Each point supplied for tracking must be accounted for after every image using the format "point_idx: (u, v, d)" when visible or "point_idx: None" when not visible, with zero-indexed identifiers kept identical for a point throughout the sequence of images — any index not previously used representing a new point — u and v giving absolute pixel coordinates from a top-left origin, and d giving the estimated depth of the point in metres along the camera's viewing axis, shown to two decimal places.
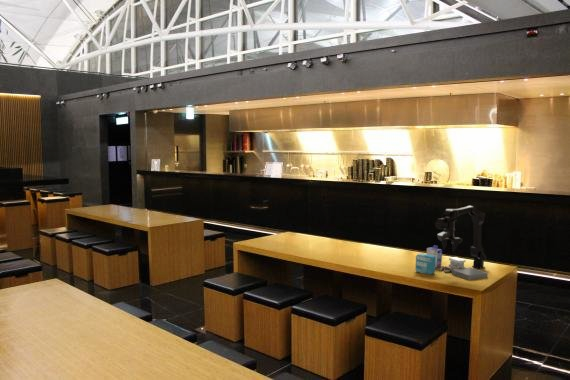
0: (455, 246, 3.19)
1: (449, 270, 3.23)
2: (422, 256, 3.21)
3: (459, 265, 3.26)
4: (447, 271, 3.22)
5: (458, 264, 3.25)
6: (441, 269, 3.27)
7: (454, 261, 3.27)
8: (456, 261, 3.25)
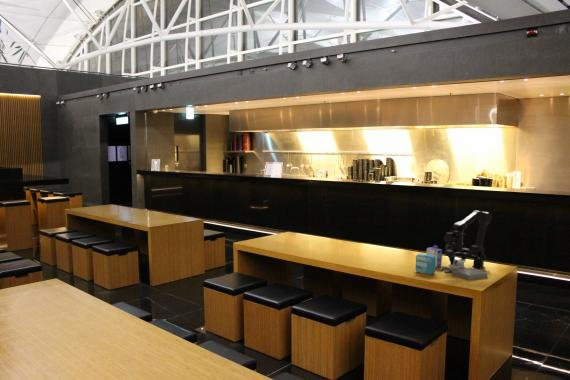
0: (451, 259, 3.26)
1: (449, 270, 3.23)
2: (422, 256, 3.21)
3: (459, 265, 3.26)
4: (447, 271, 3.22)
5: (458, 264, 3.25)
6: (441, 269, 3.27)
7: (454, 261, 3.27)
8: (456, 261, 3.25)
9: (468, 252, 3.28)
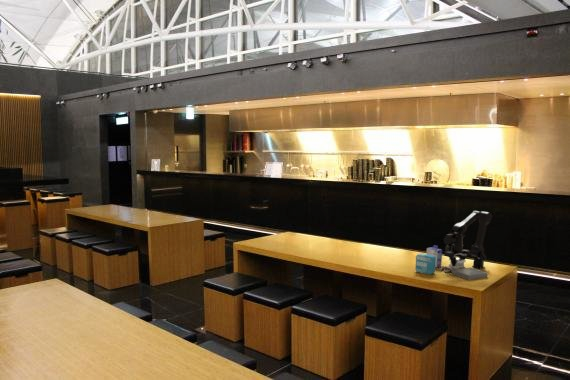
0: (452, 260, 3.26)
1: (449, 270, 3.23)
2: (422, 256, 3.21)
3: (459, 265, 3.26)
4: (447, 271, 3.22)
5: (458, 264, 3.25)
6: (441, 269, 3.27)
7: None
8: (456, 261, 3.25)
9: (468, 253, 3.28)
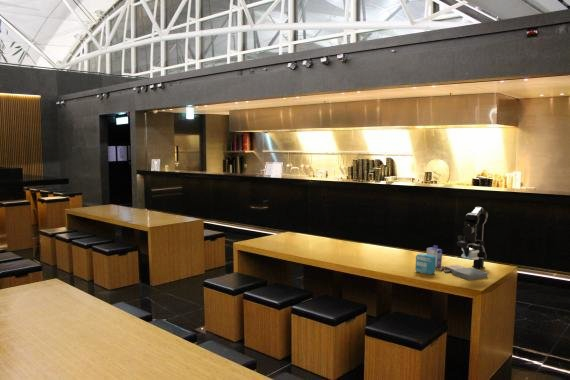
0: (465, 250, 3.13)
1: (449, 270, 3.23)
2: (422, 256, 3.21)
3: (472, 255, 3.12)
4: (447, 271, 3.22)
5: (471, 254, 3.11)
6: (441, 269, 3.27)
7: None
8: (469, 251, 3.11)
9: (482, 244, 3.14)
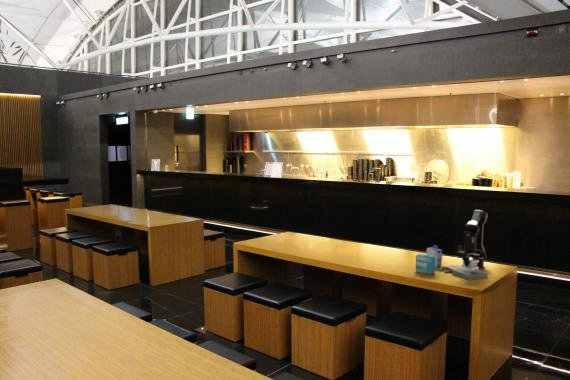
0: (465, 260, 3.13)
1: (449, 270, 3.23)
2: (422, 256, 3.21)
3: (472, 265, 3.12)
4: (447, 271, 3.22)
5: (471, 264, 3.12)
6: (441, 269, 3.27)
7: None
8: (469, 261, 3.12)
9: (481, 253, 3.15)
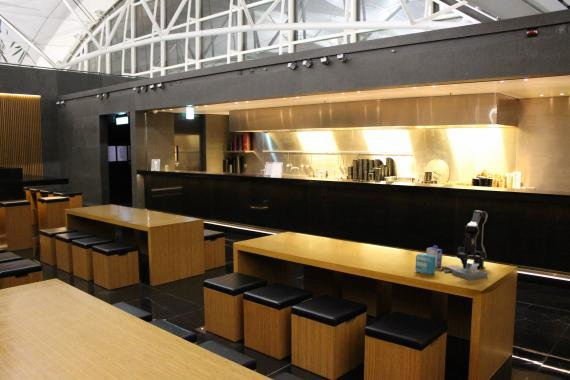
0: (463, 262, 3.13)
1: (449, 270, 3.23)
2: (422, 256, 3.21)
3: (472, 269, 3.13)
4: (447, 271, 3.22)
5: (471, 268, 3.12)
6: (441, 269, 3.27)
7: (467, 265, 3.14)
8: (469, 265, 3.12)
9: (481, 255, 3.15)
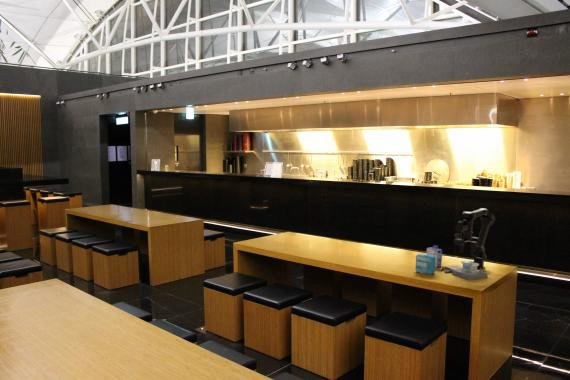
0: (460, 248, 3.24)
1: (449, 270, 3.23)
2: (422, 256, 3.21)
3: (472, 269, 3.13)
4: (447, 271, 3.22)
5: (471, 268, 3.12)
6: (441, 269, 3.27)
7: (467, 265, 3.14)
8: (469, 265, 3.12)
9: (478, 241, 3.26)
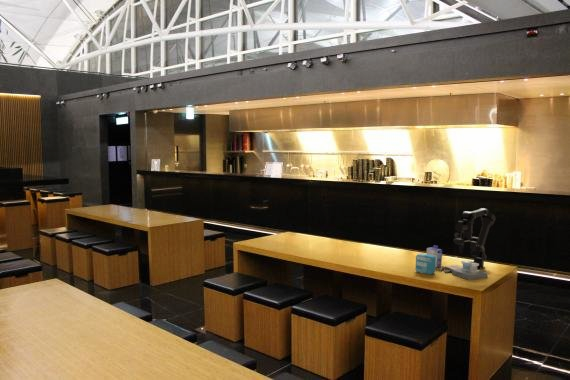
0: (460, 247, 3.24)
1: (449, 270, 3.23)
2: (422, 256, 3.21)
3: (472, 269, 3.13)
4: (447, 271, 3.22)
5: (471, 268, 3.12)
6: (441, 269, 3.27)
7: (467, 265, 3.14)
8: (469, 265, 3.12)
9: (477, 240, 3.27)
